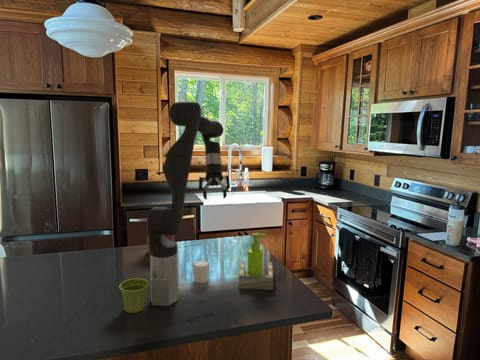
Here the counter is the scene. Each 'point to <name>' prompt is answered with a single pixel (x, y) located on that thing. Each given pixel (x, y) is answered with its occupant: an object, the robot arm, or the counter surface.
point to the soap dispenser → (255, 256)
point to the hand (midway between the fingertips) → (215, 198)
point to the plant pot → (134, 294)
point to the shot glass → (201, 271)
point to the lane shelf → (256, 279)
